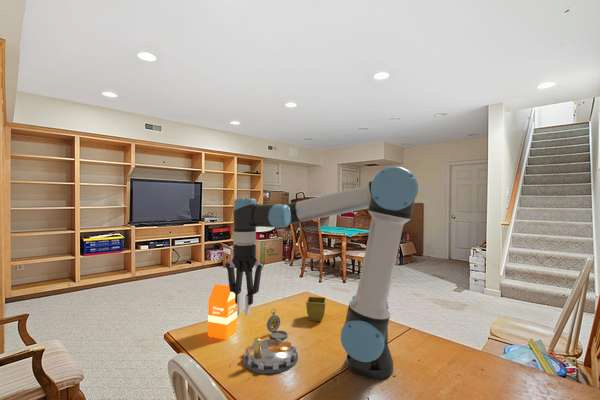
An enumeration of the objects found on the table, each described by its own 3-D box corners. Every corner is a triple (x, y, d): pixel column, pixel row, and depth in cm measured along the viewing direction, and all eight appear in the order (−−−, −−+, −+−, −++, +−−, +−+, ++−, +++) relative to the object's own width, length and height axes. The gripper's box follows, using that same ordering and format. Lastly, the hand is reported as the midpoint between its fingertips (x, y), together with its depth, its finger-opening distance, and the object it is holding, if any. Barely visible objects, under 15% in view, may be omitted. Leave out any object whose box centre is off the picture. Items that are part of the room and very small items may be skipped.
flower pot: (307, 314, 139) (308, 296, 139) (325, 315, 138) (326, 297, 138) (305, 322, 130) (305, 302, 130) (325, 323, 129) (325, 303, 129)
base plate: (309, 357, 100) (309, 356, 100) (266, 382, 86) (266, 380, 86) (273, 339, 113) (273, 338, 113) (231, 358, 99) (231, 356, 99)
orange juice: (226, 340, 112) (227, 288, 113) (207, 336, 115) (208, 286, 115) (237, 331, 120) (237, 283, 120) (219, 328, 123) (219, 281, 123)
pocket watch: (285, 341, 112) (285, 315, 112) (264, 339, 113) (264, 313, 113) (290, 332, 120) (290, 308, 120) (270, 330, 121) (270, 306, 121)
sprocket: (307, 355, 100) (307, 333, 100) (267, 377, 87) (267, 352, 87) (273, 338, 112) (273, 318, 112) (233, 355, 99) (234, 333, 99)
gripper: (269, 243, 99) (269, 311, 99) (229, 241, 103) (228, 307, 102) (261, 246, 92) (260, 320, 91) (218, 244, 95) (217, 315, 95)
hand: (243, 313), depth 97 cm, fingers open, 2 cm apart
